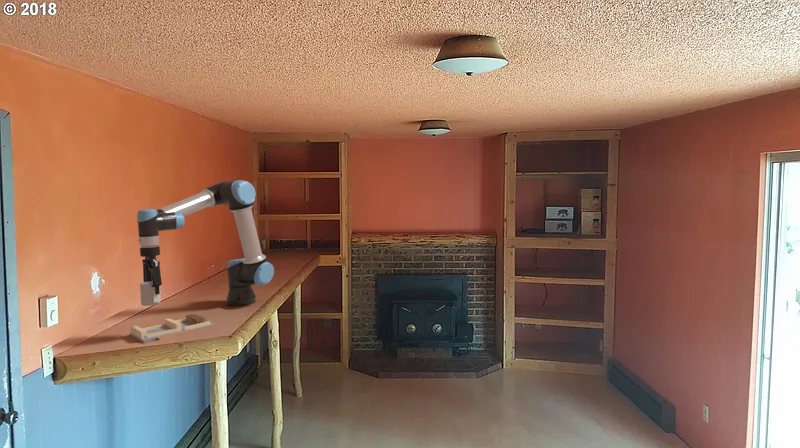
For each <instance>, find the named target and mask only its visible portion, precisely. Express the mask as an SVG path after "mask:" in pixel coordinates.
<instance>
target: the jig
mask: <svg viewBox="0 0 800 448" xmlns="http://www.w3.org/2000/svg"><path fill="white" fill-rule="evenodd" d="M164 322H165V323H162V324H158V325H152V326H148V327H144V328H142V327H141V326H138V325H136V324H135V325H130V331H129V335H130V336H131V337H132V338H134V339H135V340H137V341H140V342H141V343H142V344H146V343H151V342H155V341H159V340H161V338H160V337H164V336H169V335H174V334H178V333H182V332H188V331H193V330H195V329H200V328H205V327H210V326H213V325H216V323H214V322H212V321H209V320H207V319H206V322H204V323H199V324H195V325H193V324H191V323H188V322H187V320H186V317H185V318H181V319H176V320H174V319H172V318H165V319H164Z"/></svg>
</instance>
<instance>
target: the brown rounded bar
mask: <svg viewBox="0 0 800 448" xmlns="http://www.w3.org/2000/svg"><path fill="white" fill-rule="evenodd" d="M185 316H186V317H185V318H186V320H187V322H188V323H191V324H193V325H195V324H199V323H204V322H206V320H207V317H206V316H202V315H200V314H197V313H190V314H186V315H185Z"/></svg>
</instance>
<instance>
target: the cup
mask: <svg viewBox="0 0 800 448" xmlns="http://www.w3.org/2000/svg"><path fill="white" fill-rule="evenodd" d="M157 283H158V282H157ZM152 285H153V282H152V281H150V282H144V281H143V282H140V283H139V290H140V291H139V292H140V293H139V294H140V303H141V305H142V306H144V307H150V306H156V305H158V304H160V303H161V301H160V302H155V303H154V301H153V288H152V287H151V286H152ZM160 295H161V296H162V285H160Z"/></svg>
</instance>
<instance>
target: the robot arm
mask: <svg viewBox="0 0 800 448" xmlns="http://www.w3.org/2000/svg"><path fill="white" fill-rule="evenodd" d="M256 195H257V194H256V189H255V187H254V186H253V184H252V183H250V182H249V181H246V180H242V179H241V180H240V179H239V180H238V179H237V180H225V181H220V182H217V183H215V184H213V185H210V186H209V187H208V186H207V187H205V188H203V189H201V190H200V192H198V193H196V194H193V195H190V196H188V197H186V198H183V199H182V200H178V201H176V202H174V203H173V202H172V203H171V204H168V205H166V206H163V207H161V208H159V209H155V208H148V209H139V210H137V213H136V214H137V215H136V219H137V220H136V222H137V231H138V239H137V242H138V245H139V247H140V248H139V256H140V257H144V258H143V259H142V273H143V275H142V276H143V282H150V281H152V282H153V285H152V286H151V287H152V288H153V301H154V303H155V302H160V303H161V302H162V294H161V295H160V286H162V285H163V283H162V281H163V280H162V276H161V275H162V274H161V273H162V272H161V267H160V266H161V265H160V264H161V263H160V261H159V260H157V257H156V256H160V255H161V248H160V246H159V245H160V234H159V231H160V232H161V231H170V230H171V231H172V230H178V229H179V230H180V229H183V228H184V226H185V223H186V222H185V217H187V216H189V215H191V214H194V213H196V212H198V211H201V210H204V209H205V208H213V207H216V206H223V205H224V206H225V205H228V209H229V211H230V212H231V213H233V216H234V219H235V225H236V227H237V232H238V235H239V240H240V243H241V248H242V252H243V255H244V257H243V258H237V259H232V260H229V261H227V267H226V270H227V279H228V280H227V282H228V292H227V295H226V298H225V301H226V303H225V304H226V305H227V306H245V305H250V304H254V303H256V302H257V296H256V294H255V291H254V288H253V285H255V286H265V285H268V284H269V283H271V281H272V279H273V277H274V274H275V268H274V265H273V264H272V263H270V262H269V261H267V256H266V255H265V254H263V252H262V248H261V243H260V240H259V236H258V231H257V227H256V223H255V220H254V215H253V214H254V213H253V210H252V208H253V207H254V201H255V200H256ZM157 282H158V283H157Z"/></svg>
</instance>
